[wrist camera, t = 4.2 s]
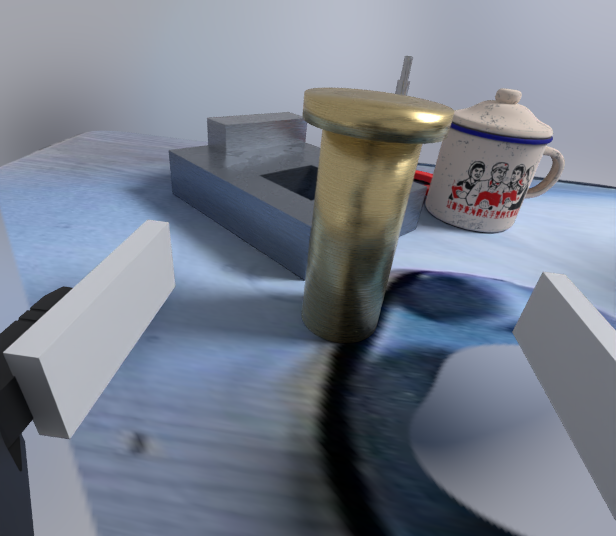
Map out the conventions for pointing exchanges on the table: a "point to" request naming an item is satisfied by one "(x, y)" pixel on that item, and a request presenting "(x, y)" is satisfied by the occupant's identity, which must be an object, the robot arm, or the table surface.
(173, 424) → the table surface
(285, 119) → the jig
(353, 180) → the brass flanged peg
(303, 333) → the table surface
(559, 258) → the table surface
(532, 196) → the teacup with lid
